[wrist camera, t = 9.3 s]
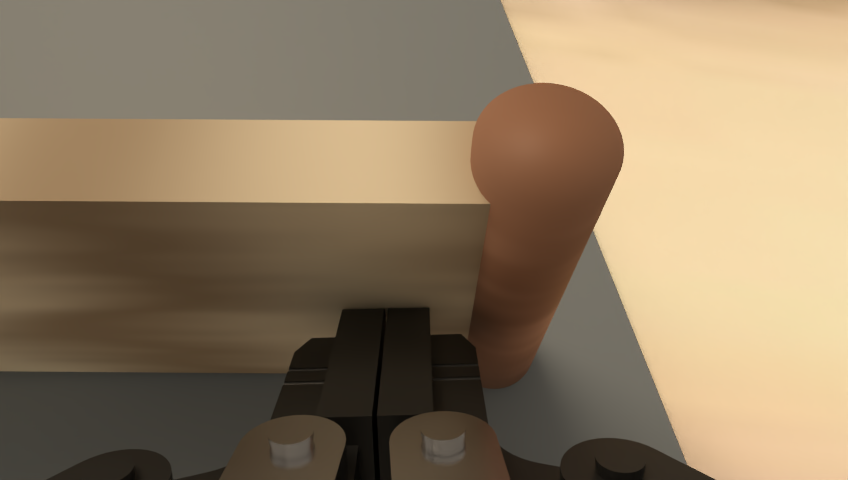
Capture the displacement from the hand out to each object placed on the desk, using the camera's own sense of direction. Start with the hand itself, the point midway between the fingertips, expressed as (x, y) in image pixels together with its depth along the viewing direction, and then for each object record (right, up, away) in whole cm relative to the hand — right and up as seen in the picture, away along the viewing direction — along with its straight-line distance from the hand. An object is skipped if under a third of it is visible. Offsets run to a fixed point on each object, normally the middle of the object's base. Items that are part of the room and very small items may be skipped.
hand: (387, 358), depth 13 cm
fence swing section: (-3, 0, +3) cm, 5 cm away
